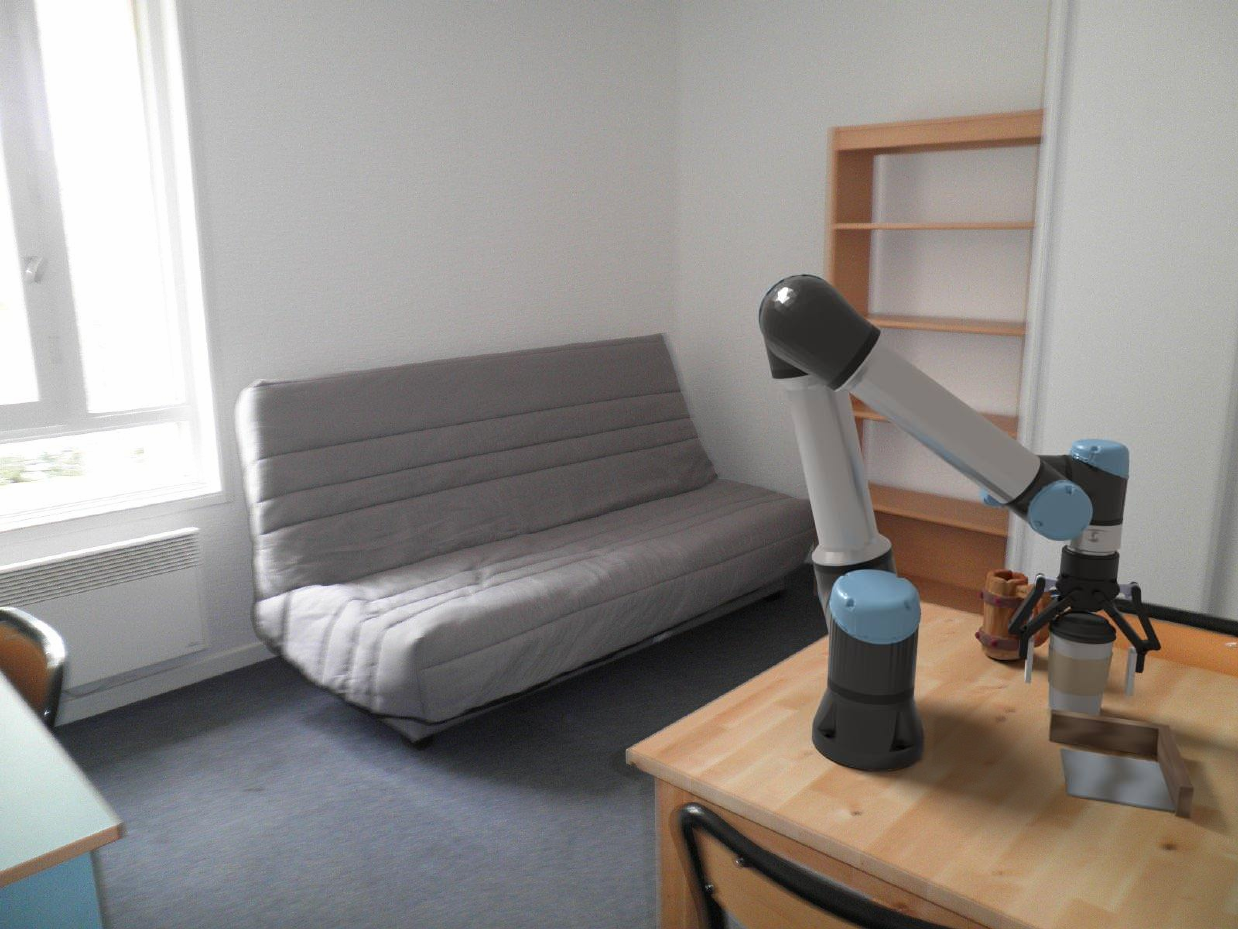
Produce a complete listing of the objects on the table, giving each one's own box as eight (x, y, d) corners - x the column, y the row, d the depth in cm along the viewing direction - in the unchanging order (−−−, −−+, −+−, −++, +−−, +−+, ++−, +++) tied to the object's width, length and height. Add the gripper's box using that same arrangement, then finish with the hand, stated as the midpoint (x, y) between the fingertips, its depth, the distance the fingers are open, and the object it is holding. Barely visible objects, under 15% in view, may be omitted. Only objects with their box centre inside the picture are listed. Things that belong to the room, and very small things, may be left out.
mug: (963, 647, 171) (970, 564, 167) (1003, 641, 173) (1010, 559, 170) (1021, 683, 157) (1029, 592, 154) (1063, 676, 160) (1073, 587, 156)
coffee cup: (1114, 728, 143) (1126, 629, 139) (1047, 722, 144) (1057, 625, 141) (1098, 700, 151) (1108, 607, 148) (1035, 694, 153) (1044, 602, 150)
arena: (1057, 796, 125) (1060, 767, 124) (1048, 735, 141) (1051, 709, 140) (1189, 818, 120) (1194, 788, 120) (1165, 752, 136) (1169, 725, 135)
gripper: (998, 547, 143) (987, 684, 148) (1194, 564, 135) (1176, 708, 139) (997, 533, 150) (986, 664, 154) (1184, 548, 142) (1167, 686, 146)
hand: (1077, 685), depth 147 cm, fingers open, 13 cm apart
